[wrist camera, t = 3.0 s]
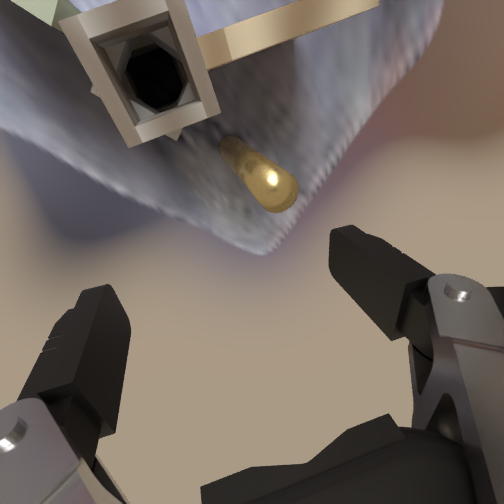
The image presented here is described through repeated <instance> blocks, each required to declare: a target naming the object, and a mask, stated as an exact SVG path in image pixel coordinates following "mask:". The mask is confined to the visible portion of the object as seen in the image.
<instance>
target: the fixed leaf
mask: <svg viewBox="0 0 504 504" xmlns="http://www.w3.org/2000/svg"><path fill="white" fill-rule="evenodd" d="M377 6H379V0H299V1H296V2H294V3H291V4H288V5H285V6H283V7H280V8H277V9H274V10H272V11H269V12H266V13H263V14H261V15H258V16H255V17H252V18H250V19H247V20H244V21H241V22H239V23H236V24H233V25H230V26H228V27H225V28H222V29H219V30H217V31H214V32H211V33H208V34H206V35H203V36H200V37H197V38H196V35H195V32H194V29H193V25H192V22H191V19H190V16H189V13H188V10H187V7H186V4H185V1H184V0H118V1H115V2H112V3H109V4H106V5H103V6H100V7H97V8H95V9H92V10H89V11H86V12H83V13H80V14H77V15H74V16H72V17H69V18H66V19H63V20H60V21H58V23H59V24H60V26H61V28H62V30H63V32H64V33H65V35H66V37H67V39H68V41H69V42H70V44H71V46H72V48H73V49H74V51H75V53H76V55H77V57H78V58H79V60H80V62H81V64H82V66H83V67H84V69H85V71H86V73H87V74H88V76H89V78H90V80H91V82H92V83H93V85H94V87H95V89H96V91H97V92H98V94H99V96H100V98H101V100H102V101H103V103H104V105H105V107H106V108H107V110H108V112H109V114H110V116H111V117H112V119H113V121H114V123H115V125H116V126H117V128H118V130H119V132H120V133H121V135H122V137H123V139H124V141H125V142H126V144H127V146H128V148H131V147H134V146H136V145H139V144H141V143H144V142H147V141H149V140H152V139H154V138H157V137H160V136H162V135H165V134H167V133H170V132H173V131H175V130H178V129H180V128H183V127H186V126H188V125H191V124H193V123H196V122H199V121H201V120H204V119H206V118H209V117H212V116H214V115H217V114H219V113H221V110H220V107H219V104H218V101H217V98H216V95H215V92H214V89H213V86H212V83H211V80H210V77H209V74H208V71H207V70H209V69H210V70H212V69H214V68H217V67H220V66H222V65H225V64H228V63H230V62H233V61H236V60H239V59H241V58H244V57H247V56H249V55H252V54H255V53H257V52H260V51H263V50H265V49H268V48H271V47H273V46H276V45H279V44H281V43H284V42H287V41H289V40H292V39H295V38H297V37H300V36H302V35H305V34H308V33H310V32H313V31H315V30H318V29H320V28H323V27H326V26H328V25H331V24H333V23H336V22H338V21H341V20H343V19H346V18H349V17H351V16H354V15H356V14H359V13H361V12H364V11H367V10H369V9H372V8H374V7H377ZM167 26H168V27H169V30H170V32H171V35H172V38H173V40H174V43H175V46H176V48H177V51H178V54H179V56H180V59H181V62H180V61H179V60H178V59H176V58H175V57H174V56H172V58H173V60H174V63H175V65H176V68H177V70H178V73H179V76H180V78H181V81H182V83H183V86H184V84H185V82H186V80H187V78H188V81H189V83H190V86H191V89H192V91H193V94H194V97H195V99H196V100H193V101H190V102H188V103H185V104H182V105H180V106H177V107H175V105H176V103H177V101H174V102H172V103H169V104H166V105H164V106H161V107H158V108H156V110H157V111H159V112H161V113H159V114H156V115H153V116H151V117H148V118H145V119H143V120H140V118H139V116H138V114H137V112H136V110H135V108H134V106H133V104H132V103H131V101H130V99H129V97H128V95H127V93H126V92H128V93H129V94H131V95H132V96H134V97H136V98H137V99H139V100H141V101H142V99H141V96H140V94H139V92H138V90H137V88H136V86H135V84H134V82H133V80H132V78H131V76H130V74H129V71H128V69H127V67H126V70H125V73H124V75H123V78H122V81H120V79H119V77H118V75H117V73H116V71H115V69H114V67H113V65H112V63H111V61H110V59H109V57H108V55H107V53H106V51H105V48H108V47H111V46H114V45H116V44H119V43H122V42H125V41H128V40H130V39H133V38H136V37H137V39H136V42H135V45H134V47H133V50H132V53H131V56H130V58H133V57H136V56H139V55H141V54H144V53H147V52H150V51H152V50H155V49H158V48H161V47H160V46H159V45H157V44H156V43H154V42H153V41H152V40H150V39H149V38H148V37H146V36H145V35H144V34H147V33H150V32H153V31H155V30H158V29H161V28H164V27H167ZM142 102H143V101H142Z"/></svg>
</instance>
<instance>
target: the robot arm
mask: <svg viewBox="0 0 504 504" xmlns="http://www.w3.org/2000/svg"><path fill="white" fill-rule="evenodd" d="M329 269H330V272H331V274H332V276H333V278H334V279H335V280H336V281H337V282H338V283H339V284H340V286H341V287H343V289H344V290H345V291H346V292H347V293H348V294H349V295H350V296H351V298H352V299H353V300H354V301H355V302H356V303H357V304H358V305H359V306H360V307H361V308H362V310H363V311H364V312H365V313H366V314H367V315H368V316H369V317H370V318H371V319H372V320H373V322H374V323H375V324H376V325H377V326H378V327H379V328H380V329H381V330H382V331H383V332H384V333H385V335H386V336H387V337H388V338H389V339H390V340H391V341H393V340H396V339H399V338H402V337H406V338H407V339H409V341H410V342H409V345H408V354H409V363H410V373H411V382H412V392H413V415H412V427H411V428H410V427H398V426H397V424H396V423H395V422H394V420H393V419H392V417H391V416H390V414H386V415H383V416H380V417H378V418H375V419H373V420H370V421H368V422H365V423H362V424H360V425H357V426H355V427H352V428H350V429H347V430H346V431H345V432H344V433H342V434H341V435H340V436H339V437H337V438H336V439H335V440H334V441H333V442H332V443H331V444H329V445H328V446H327V447H326V448H325V449H323V450H322V451H321V452H320V453H319V454H318V455H316V456H315V457H314V458H313V459H312V460H310V461H309V462H307V463H304V464H295V465H294V464H293V465H277V466H259V467H250V468H247V469H245V470H242V471H240V472H237V473H234V474H232V475H229V476H227V477H224V478H222V479H219V480H217V481H214V482H211V483H209V484H206V485H204V486H201V487H200V489H201V501H202V504H504V287H484V286H483V285H482V284H480V283H479V282H477V281H475V280H473V279H470V278H468V277H465V276H461V275H456V274H438V275H436V274H434V273H433V272H431V271H430V270H428V269H427V268H425V267H424V266H422V265H421V264H419V263H418V262H416V261H415V260H413V259H412V258H410V257H409V256H407V255H406V254H404V253H403V254H402V253H401V251H400V250H398V249H397V248H395V247H392V245H391V244H389V243H388V242H386V241H385V240H383V239H381V238H379V237H375V236H373V235H370V234H366V233H364V232H363V231H361V230H360V229H359V228H357V227H356V226H354V225H347V226H343V227H339V228H335V229H332V230H331V233H330V243H329ZM130 337H131V327H130V322H129V318H128V316H127V314H126V312H125V310H124V309H123V306H122V305H121V303H120V301H119V299H118V297H117V295H116V293H115V291H114V289H113V288H112V286H111V285H109V284H106V285H102V286H98V287H94V288H90V289H86V290H83V291H82V292H81V294H80V296H79V298H78V301H77V303H76V305H75V307H74V309H69V310H68V311H67V312H66V313H65V314H64V315H63V316H62V317H61V318H60V319H59V320H58V321H57V322H56V323H55V325H54V327H53V329H52V331H51V333H50V335H49V337H48V338H49V340H47V341H46V343H45V345H44V347H43V349H42V350H43V352H42V353H40V355H39V357H38V359H37V361H36V363H35V365H34V367H33V369H32V371H31V373H30V375H29V377H28V379H27V381H26V383H25V385H24V387H23V389H22V391H21V393H20V395H19V397H18V399H17V401H16V402H14V403H12V404H10V405H8V406H6V407H5V408H3V409H2V410H0V504H130V503H129V501H128V500H127V498H126V497H125V495H124V494H123V492H122V491H121V489H120V488H119V486H118V485H117V483H116V482H115V480H114V479H113V478H112V476H111V475H110V473H109V472H108V470H107V468H106V467H105V466H104V464H103V463H102V461H101V460H100V458H99V457H98V456H97V455H96V449H97V445H98V440H99V438H102V437H105V436H108V435H111V434H114V433H115V432H116V426H117V419H118V413H119V407H120V400H121V394H122V388H123V381H124V374H125V369H126V362H127V356H128V350H129V343H130Z"/></svg>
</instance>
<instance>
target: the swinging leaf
mask: <svg viewBox="0 0 504 504" xmlns="http://www.w3.org/2000/svg"><path fill="white" fill-rule="evenodd" d="M11 1H12V2H14V3H16V4H17V5H19V6H20V7H22V8H23V9H25V10H27V11H28V12H30V13H31V14H33V15H34V16H36V17H37V18H39V19H41V20H42V21H44V22H45V23H47V24H48V25H50V26H52V27H54V28H55V29H57V30H59V31H61V32H63V30H62V28H61V26H60V24H59V23H58V21H60V20H63V19H66V18H69V17H72V16H74V15H77V14H80V13H82V12H81V11H79V10H78V9H77V8H76V7H75V6H74V5H73V4H72V3H71V2H69V1H68V0H11ZM63 33H64V32H63ZM144 35H145V36H146V37H148V38H149V39H150V40H152V41H153V42H154V43H156V44H157V45H159V46H160V47H161V48H163V49H164V50H165V51H167V52H168V53H169V54H171V55H172V56H174V57H175V58H176V59H178V60H179V61H180V62H181V59H180V56H179V54H178V51H177V48H176V46H175V43H174V40H173V38H172V35H171V32H170V30H169V27H168V26H167V27H164V28H161V29H158V30H155V31H153V32H150V33H147V34H144ZM136 39H137V37H136V38H133V39H130V40H128V41H125V42H122V43H119V44H116V45H114V46H111V47H108V48H105V51H106V53H107V55H108V57H109V59H110V61H111V63H112V65H113V67H114V69H115V71H116V73H117V75H118V77H119V79H120V81H122V78H123V75H124V73H125V70H126V67H127V64H128V61H129V59H130V56H131V53H132V50H133V47H134V45H135V42H136ZM209 70H210V69H209ZM209 70H207V71H208V72H209ZM90 92H91V93H93V94H95V95H96V96H98V97H100V96H99V94H98V92H97V91H96V89H95V87H94V85H92V88H91V91H90ZM126 93H127V95H128V97H129V99H130V101H131V103H132V104H133V106H134V108H135V110H136V112H137V114H138V116H139V118H140V120H143V119H145V118H148V117H151V116H153V115H156V114H159V113H161V112H159V111H157V110H156V109H154V108H152V107H151V106H149V105H147V104H146V103H144V102H142V101H141V100H139V99H137V98H136V97H134V96H132V95H131V94H129V93H128V92H126ZM193 100H196V99H195V97H194V94H193V91H192V89H191V86H190V83H189V81H188V78H187V80H186V82H185V84H184V87H183V89H182V91H181V94H180V96H179V98H178V100H177V103H176V105H175V107H177V106H180V105H182V104H185V103H188V102H190V101H193ZM182 129H183V128H180V129H178V130H175V131H173V132H170V133H167V134H165V135H166V136H168V137H170V138H172V139H173V140H175V141H177V140H178V138H179V135H180V133H181V131H182Z"/></svg>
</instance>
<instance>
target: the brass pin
mask: <svg viewBox="0 0 504 504" xmlns="http://www.w3.org/2000/svg"><path fill="white" fill-rule="evenodd" d="M219 152H220V155H221V156H222V158H223V159H224V160H225V161H226V162H227V164H228V165H229V166H230V167H231V169H232V170H233V171H234V172H235V173H236V175H237V176H238V177H239V178H240V180H241V181H242V182H243V183H244V184H245V186H246V187H247V188H248V189H249V191H250V192H251V193H252V194H253V195H254V197H255V198H256V199H257V200H258V202H259V203H260V204H261V205H262V206H263V208H264V209H266V210H267V211H269V212H273V213H279V212H283V211H285V210H287V209H288V208H290V207H291V206H292V205H293V204H294V202H295V201H296V199H297V196H298V191H299V187H298V183H297V180H296V179H295V178H294V176H292V175H291V174H290V173H288V172H287V171H285V170H284V169H282V168H281V167H280V166H278V165H277V164H275V163H274V162H272V161H271V160H269V159H268V158H266V157H265V156H263V155H262V154H261V153H259V152H258V151H256V150H255V149H253V148H252V147H250V146H249V145H247V144H246V143H244V142H243V141H242V140H240V139H239V138H237V137H235V136H226V137H225V138H223V139H222V140H221V142H220V144H219Z"/></svg>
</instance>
